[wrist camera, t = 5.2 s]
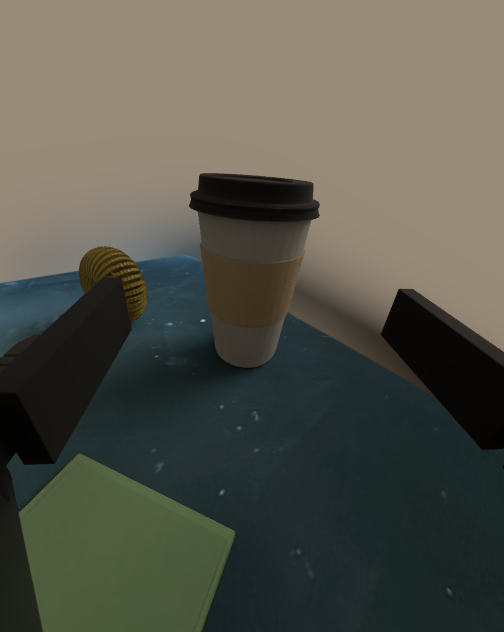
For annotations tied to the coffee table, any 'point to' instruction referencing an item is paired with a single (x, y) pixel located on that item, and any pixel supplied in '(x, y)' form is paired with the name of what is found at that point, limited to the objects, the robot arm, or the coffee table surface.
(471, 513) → the coffee table surface
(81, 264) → the sculpture
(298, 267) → the coffee cup
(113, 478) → the green cloth
